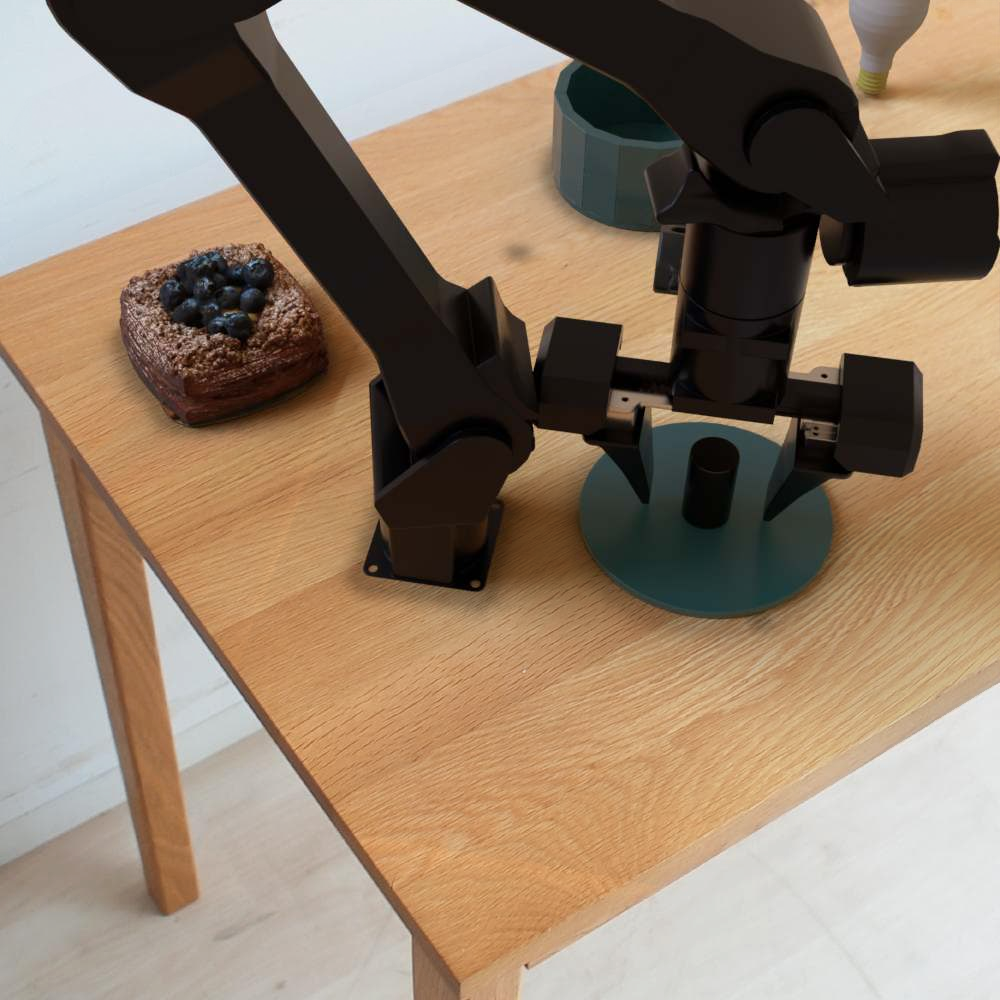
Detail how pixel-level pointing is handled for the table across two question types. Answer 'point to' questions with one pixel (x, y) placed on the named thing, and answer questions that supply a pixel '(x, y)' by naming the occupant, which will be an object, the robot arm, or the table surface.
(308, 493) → the table surface
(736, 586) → the lid
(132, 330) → the pastry
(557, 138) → the pot
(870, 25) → the light bulb
